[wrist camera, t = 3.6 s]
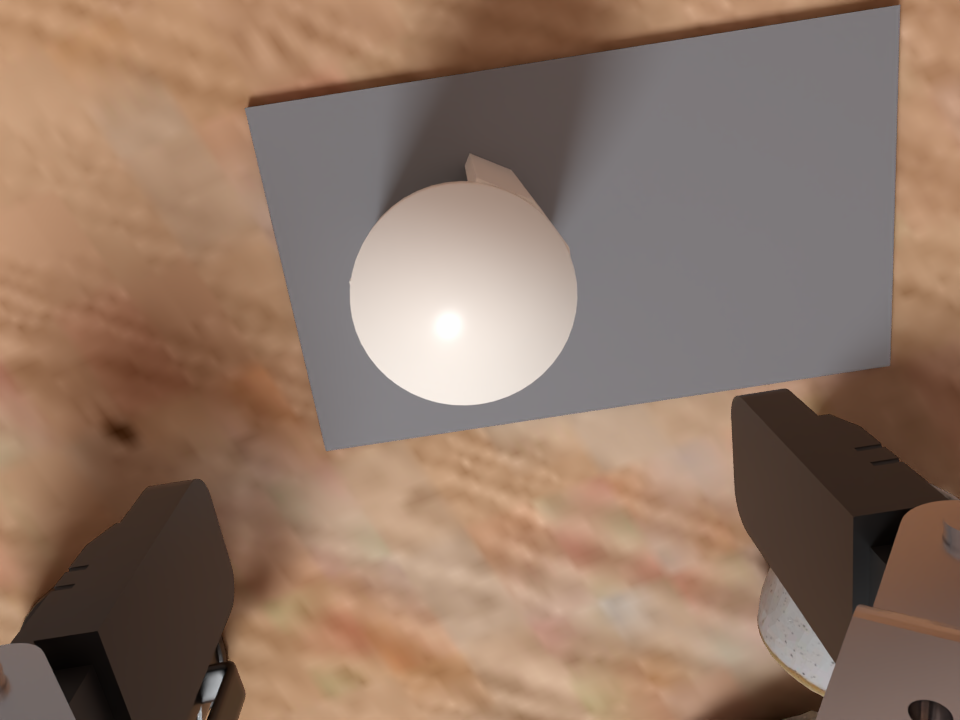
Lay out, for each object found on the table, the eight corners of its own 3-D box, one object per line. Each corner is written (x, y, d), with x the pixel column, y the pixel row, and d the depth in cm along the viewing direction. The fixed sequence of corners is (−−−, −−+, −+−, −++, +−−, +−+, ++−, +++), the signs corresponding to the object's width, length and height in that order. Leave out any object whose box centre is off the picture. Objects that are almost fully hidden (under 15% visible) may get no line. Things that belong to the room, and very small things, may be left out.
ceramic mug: (724, 601, 37) (794, 726, 30) (775, 445, 35) (865, 542, 27) (931, 625, 38) (1046, 752, 31) (996, 476, 36) (1138, 577, 29)
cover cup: (530, 143, 30) (564, 167, 21) (551, 306, 32) (588, 387, 23) (362, 169, 30) (327, 204, 21) (393, 330, 32) (373, 420, 23)
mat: (894, 5, 29) (899, 4, 28) (885, 362, 34) (890, 365, 33) (247, 107, 29) (244, 108, 29) (327, 447, 34) (326, 451, 33)
